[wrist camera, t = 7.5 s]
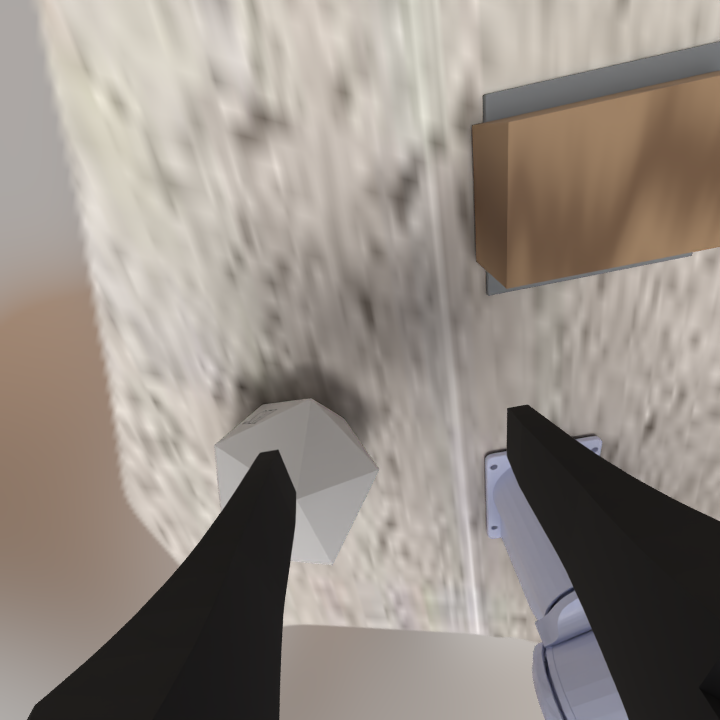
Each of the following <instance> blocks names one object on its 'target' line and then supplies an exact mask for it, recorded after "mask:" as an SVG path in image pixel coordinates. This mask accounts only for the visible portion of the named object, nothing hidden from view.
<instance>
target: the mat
mask: <svg viewBox="0 0 720 720" xmlns="http://www.w3.org/2000/svg"><path fill="white" fill-rule="evenodd" d="M714 71H720V42H716V43H711V44H707V45H702V46H698V47H693V48H689V49H685V50H680V51H676V52H671V53H667V54H663V55H658V56H654V57H649V58H645V59H640V60H636V61H632V62H627V63H623V64H618V65H614V66H610V67H605V68H601V69H596V70H592V71H587V72H583V73H579V74H574V75H570V76H565V77H561V78H557V79H552V80H548V81H543V82H539V83H534V84H530V85H526V86H521V87H517V88H512V89H508V90H503V91H499V92H495V93H490V94H486V95H483V118H484V123H485V122H490V121H494V120H499V119H503V118H508V117H512V116H517V115H521V114H526V113H530V112H535V111H539V110H544V109H548V108H553V107H557V106H561V105H566V104H570V103H575V102H579V101H584V100H588V99H593V98H597V97H602V96H606V95H611V94H615V93H620V92H624V91H629V90H633V89H638V88H642V87H647V86H651V85H656V84H660V83H665V82H669V81H674V80H678V79H683V78H687V77H692V76H696V75H701V74H705V73H710V72H714ZM692 253H693V252H690V253H685V254H680V255H675V256H670V257H665V258H660V259H655V260H650V261H645V262H640V263H635V264H630V265H625V266H620V267H615V268H610V269H604V270H599V271H594V272H589V273H584V274H579V275H574V276H569V277H564V278H559V279H554V280H549V281H544V282H539V283H534V284H529V285H523V286H518V287H513V288H508V289H506V288H505V287H504V286H503V285H502V284H501V283H500V282H499V281H497V280H496V279H495V278H494V277H493V276H492V275H491V274H490V273H489V272H487V271H486V289H487V295H488V296H490V295H495V294H500V293H505V292H510V291H515V290H520V289H525V288H530V287H536V286H541V285H546V284H551V283H556V282H561V281H566V280H571V279H576V278H581V277H586V276H591V275H597V274H602V273H607V272H612V271H617V270H622V269H627V268H632V267H637V266H642V265H647V264H653V263H658V262H663V261H668V260H673V259H678V258H683V257H688V256H692Z"/></svg>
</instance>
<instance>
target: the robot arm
mask: <svg viewBox="0 0 720 720" xmlns="http://www.w3.org/2000/svg"><path fill="white" fill-rule="evenodd" d="M601 447H602V441H601V439H600V438H599V437H597V436H591V437H585V438H579V439H574V438H572V437H571V436H570V435H568V434H567V433H565V432H564V431H563V430H561V429H560V428H559V427H557V426H556V425H555V424H553V423H552V422H551V421H549V420H548V419H546V418H545V417H544V416H542V415H541V414H540V413H538V412H537V411H536V410H534V409H533V408H532V407H530V406H529V405H523V406H517V407H511V408H507V451H504V452H499V453H493V454H489V455H488V456H487V457H486V458H485V478H486V516H487V534H488V537H489V538H492V539H495V538H501V537H502V540H503V542H504V545H505V547H506V550H507V552H508V555H509V557H510V559H511V562H512V564H513V567H514V569H515V572H516V574H517V577H518V579H519V582H520V584H521V587H522V589H523V591H524V594H525V596H526V599H527V601H528V604H529V606H530V608H531V610H532V612H533V614H534V615H535V617H536V618H537V621H536V622H535V625H536V627H537V630H538V632H539V635H540V637H541V640H542V642H541V643H538V644H537V645H536V646H535V648H534V651H533V665H532V673H533V681H534V686H535V691H536V694H537V698H538V701H539V704H540V707H541V710H542V712H543V715H544V718H545V720H720V521H718V520H716V519H714V518H712V517H710V516H707V515H705V514H703V513H701V512H699V511H697V510H695V509H693V508H690V507H688V506H686V505H684V504H682V503H680V502H678V501H676V500H674V499H673V498H671V497H669V496H667V495H665V494H663V493H661V492H659V491H658V490H656V489H654V488H652V487H650V486H648V485H647V484H645V483H643V482H641V481H639V480H638V479H636V478H634V477H632V476H631V475H629V474H627V473H626V472H624V471H622V470H621V469H619V468H618V467H616V466H614V465H613V464H611V463H610V462H608V461H606V460H605V459H603V458H602V457H600V452H601ZM492 465H493V466H492ZM295 525H296V490H295V488H294V486H293V483H292V481H291V478H290V476H289V474H288V471H287V469H286V466H285V464H284V462H283V459H282V457H281V454H280V452H279V450H278V449H277V450H272V451H266V452H261V453H259V454H258V456H257V457H256V459H255V460H254V462H253V464H252V465H251V467H250V468H249V470H248V472H247V473H246V475H245V476H244V478H243V479H242V481H241V483H240V484H239V486H238V487H237V489H236V490H235V492H234V493H233V495H232V496H231V498H230V499H229V501H228V502H227V504H226V505H225V507H224V508H223V510H222V511H221V513H220V514H219V516H218V517H217V519H216V520H215V521H214V523H213V524H212V525H211V527H210V528H209V530H208V531H207V532H206V534H205V535H204V536H203V538H202V539H201V541H200V542H199V543H198V544H197V546H196V547H195V548H194V550H193V551H192V552H191V553H190V555H189V556H188V557H187V558H186V560H185V561H184V562H183V563H182V564H181V565H180V567H179V568H178V569H177V570H176V571H175V573H174V574H173V575H172V576H171V577H170V578H169V579H168V581H167V582H166V583H165V584H164V585H163V586H162V587H161V588H160V589H159V590H158V591H157V592H156V593H155V594H154V596H153V597H152V598H151V599H150V600H149V601H148V602H147V603H146V604H145V605H144V606H143V607H142V608H141V609H140V610H139V612H138V613H137V614H136V615H135V616H134V617H133V618H132V619H131V620H129V621H128V623H126V624H125V626H123V627H122V628H121V629H120V630H119V631H118V632H117V633H116V634H115V635H114V636H113V637H112V638H111V639H110V640H109V641H108V642H107V643H106V644H104V645H103V646H102V647H101V648H100V649H99V650H98V651H97V652H96V653H95V654H94V655H93V656H91V657H90V658H89V659H88V660H87V661H86V662H85V663H84V664H83V665H81V666H80V667H79V668H78V669H77V670H76V671H74V672H73V673H72V674H71V675H70V676H69V677H67V678H66V679H65V680H64V681H63V682H62V683H61V684H59V685H58V686H57V687H56V688H55V689H54V690H52V691H51V692H50V693H49V694H48V695H47V696H45V697H44V698H43V699H42V700H41V701H39V702H38V703H37V704H36V705H35V706H34V708H33V710H32V712H31V713H30V715H29V717H28V719H27V720H279V707H280V703H279V702H280V672H281V646H282V628H283V613H284V603H285V595H286V588H287V581H288V574H289V568H290V561H291V554H292V547H293V540H294V533H295Z"/></svg>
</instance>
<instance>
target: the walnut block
mask: <svg viewBox="0 0 720 720" xmlns="http://www.w3.org/2000/svg"><path fill="white" fill-rule="evenodd" d="M472 135H473V167H474V198H475V230H476V262H478V263H479V264H480V265H481V266H482V267H483V268H484V269H485V270H486V271H487V272H489V273H490V274H491V275H492V276H493V277H494V278H495V279H496V280H497V281H499V282H500V283H501V284H502V285H503V286H504V287H505V288H506V289H508V288H513V287H518V286H523V285H529V284H534V283H539V282H544V281H549V280H554V279H559V278H564V277H569V276H574V275H579V274H584V273H589V272H594V271H599V270H604V269H610V268H615V267H620V266H625V265H630V264H635V263H640V262H645V261H650V260H655V259H660V258H665V257H670V256H675V255H680V254H685V253H690V252H696V251H701V250H706V249H711V248H716V247H720V71H714V72H710V73H705V74H701V75H696V76H692V77H687V78H683V79H678V80H674V81H669V82H665V83H660V84H656V85H651V86H647V87H642V88H638V89H633V90H629V91H624V92H620V93H615V94H611V95H606V96H602V97H597V98H593V99H588V100H584V101H579V102H575V103H570V104H566V105H561V106H557V107H553V108H548V109H544V110H539V111H535V112H530V113H526V114H521V115H517V116H512V117H508V118H503V119H499V120H494V121H490V122H485V123H481V124H476V125H472Z"/></svg>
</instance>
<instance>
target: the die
mask: <svg viewBox="0 0 720 720" xmlns="http://www.w3.org/2000/svg"><path fill="white" fill-rule="evenodd" d="M214 447H215V458H216V469H217V479H218V489H219V497H220V506H221V511H222V510H223V508H224V507H225V505H226V504H227V502H228V501H229V499H230V498H231V496H232V495H233V493H234V492H235V490H236V489H237V487H238V486H239V484H240V483H241V481H242V479H243V478H244V476H245V475H246V473H247V472H248V470H249V468H250V467H251V465H252V464H253V462H254V460H255V459H256V457H257V456H258V454H259V453H261V452H266V451H272V450H277V449H278V450H279V452H280V454H281V457H282V459H283V462H284V464H285V466H286V469H287V471H288V474H289V476H290V478H291V481H292V483H293V486H294V488H295V490H296V525H295V533H294V540H293V547H292V554H291V561H296V562H306V563H316V564H326V565H333V563H334V561H335V559H336V557H337V555H338V553H339V551H340V549H341V547H342V545H343V543H344V541H345V539H346V537H347V535H348V533H349V531H350V529H351V527H352V524H353V522H354V520H355V518H356V516H357V514H358V512H359V510H360V508H361V506H362V504H363V502H364V500H365V498H366V496H367V494H368V492H369V490H370V488H371V486H372V484H373V481H374V479H375V477H376V475H377V473H378V471H379V468H378V467H377V465H376V464H375V462H374V461H373V460H372V458H371V457H370V455H369V454H368V452H367V451H366V449H365V448H364V447H363V445H362V444H361V442H360V441H359V439H358V438H357V436H356V435H355V433H354V432H353V431H352V429H351V428H350V426H349V425H348V423H347V422H346V420H345V419H344V418H343V417H341V416H339V415H338V414H336V413H335V412H333V411H331V410H330V409H328V408H326V407H325V406H323V405H322V404H320V403H318V402H317V401H315V400H313V399H312V398H309V399H301V400H293V401H286V402H278V403H270V404H262V405H261V406H260V407H259V408H258V409H256V410H255V411H254V412H253V413H252V414H250V415H249V416H248V417H247V418H246V419H245V420H243V421H242V422H241V423H240V424H239V425H238V426H236V427H235V428H234V429H233V430H232V431H230V432H229V433H228V434H227V435H226V436H225V437H223V438H222V439H221V440H220V441H219V442H217V443H216V444H215V445H214Z"/></svg>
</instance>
